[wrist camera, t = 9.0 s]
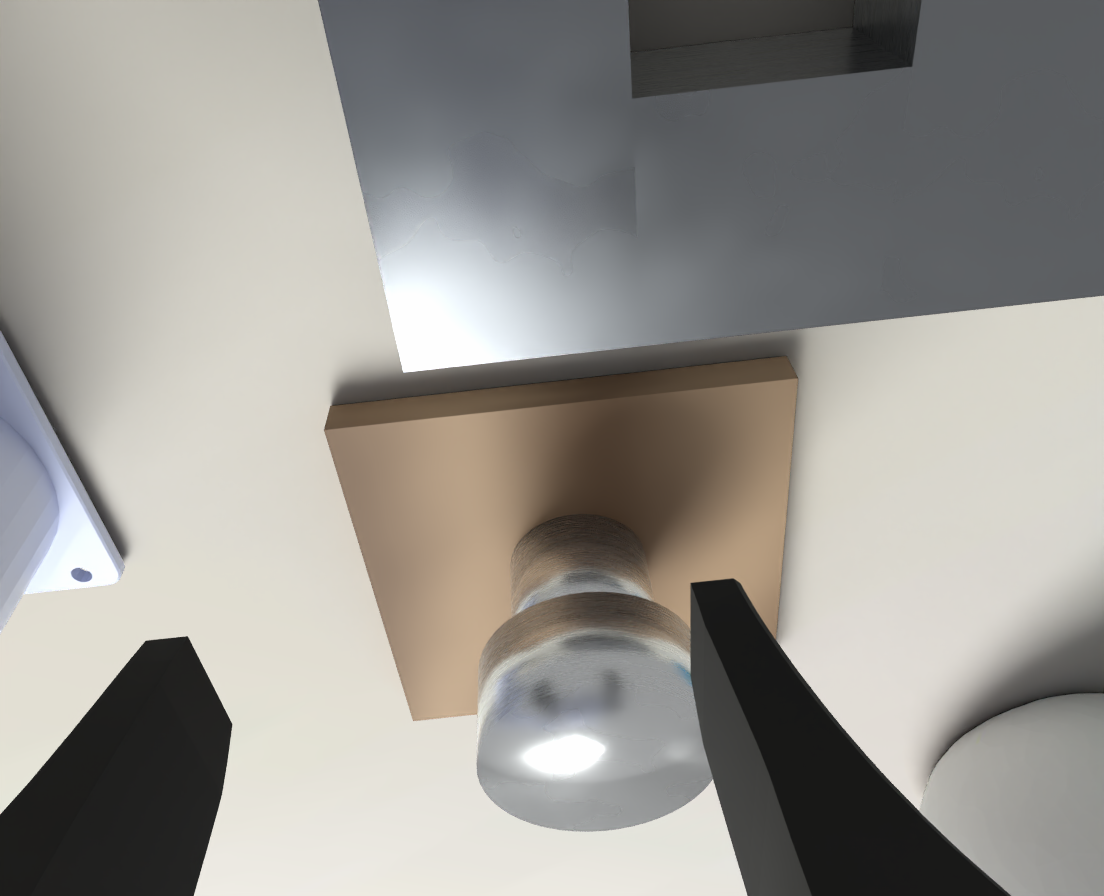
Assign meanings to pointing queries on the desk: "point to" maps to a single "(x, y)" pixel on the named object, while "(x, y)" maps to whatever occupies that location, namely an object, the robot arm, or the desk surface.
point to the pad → (560, 497)
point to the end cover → (587, 687)
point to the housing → (716, 170)
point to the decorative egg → (1028, 797)
